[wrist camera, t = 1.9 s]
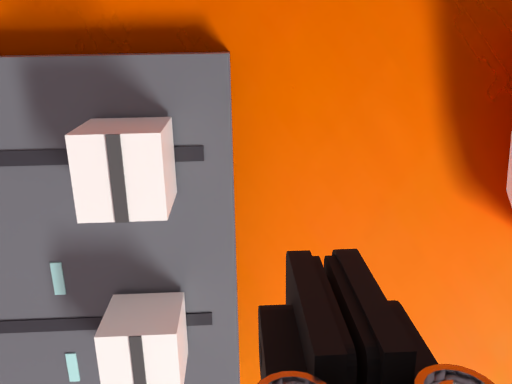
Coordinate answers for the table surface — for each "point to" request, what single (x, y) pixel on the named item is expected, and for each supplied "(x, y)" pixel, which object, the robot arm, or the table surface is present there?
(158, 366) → the fader
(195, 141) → the console
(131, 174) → the fader
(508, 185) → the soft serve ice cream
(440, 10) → the table surface
